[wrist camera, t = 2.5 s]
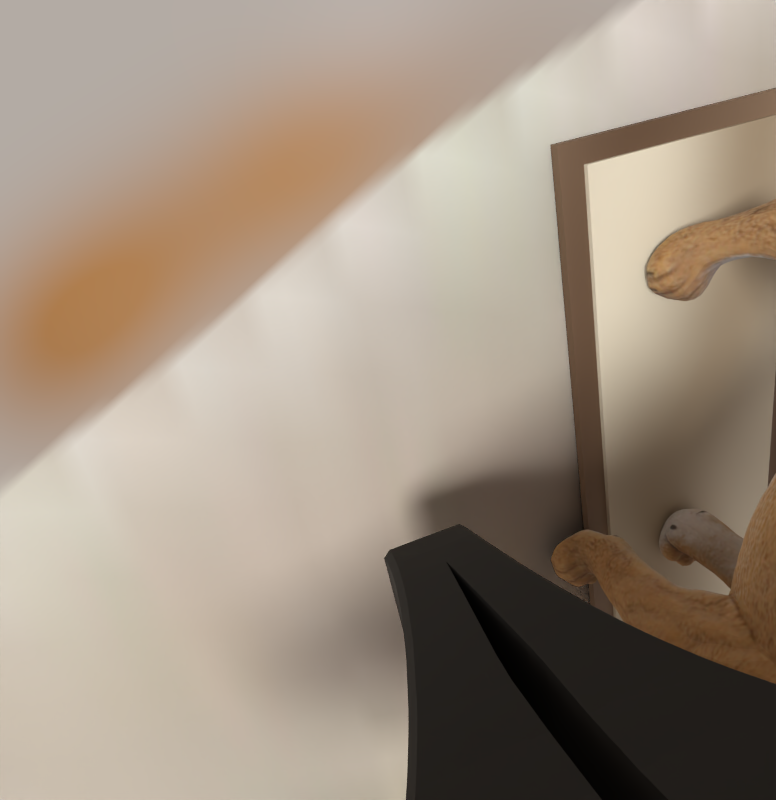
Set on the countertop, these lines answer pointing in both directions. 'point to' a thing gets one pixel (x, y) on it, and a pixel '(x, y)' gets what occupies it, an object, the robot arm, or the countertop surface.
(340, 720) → the countertop surface
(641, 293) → the brown framed panel
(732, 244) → the lion figurine
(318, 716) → the countertop surface
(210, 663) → the countertop surface
